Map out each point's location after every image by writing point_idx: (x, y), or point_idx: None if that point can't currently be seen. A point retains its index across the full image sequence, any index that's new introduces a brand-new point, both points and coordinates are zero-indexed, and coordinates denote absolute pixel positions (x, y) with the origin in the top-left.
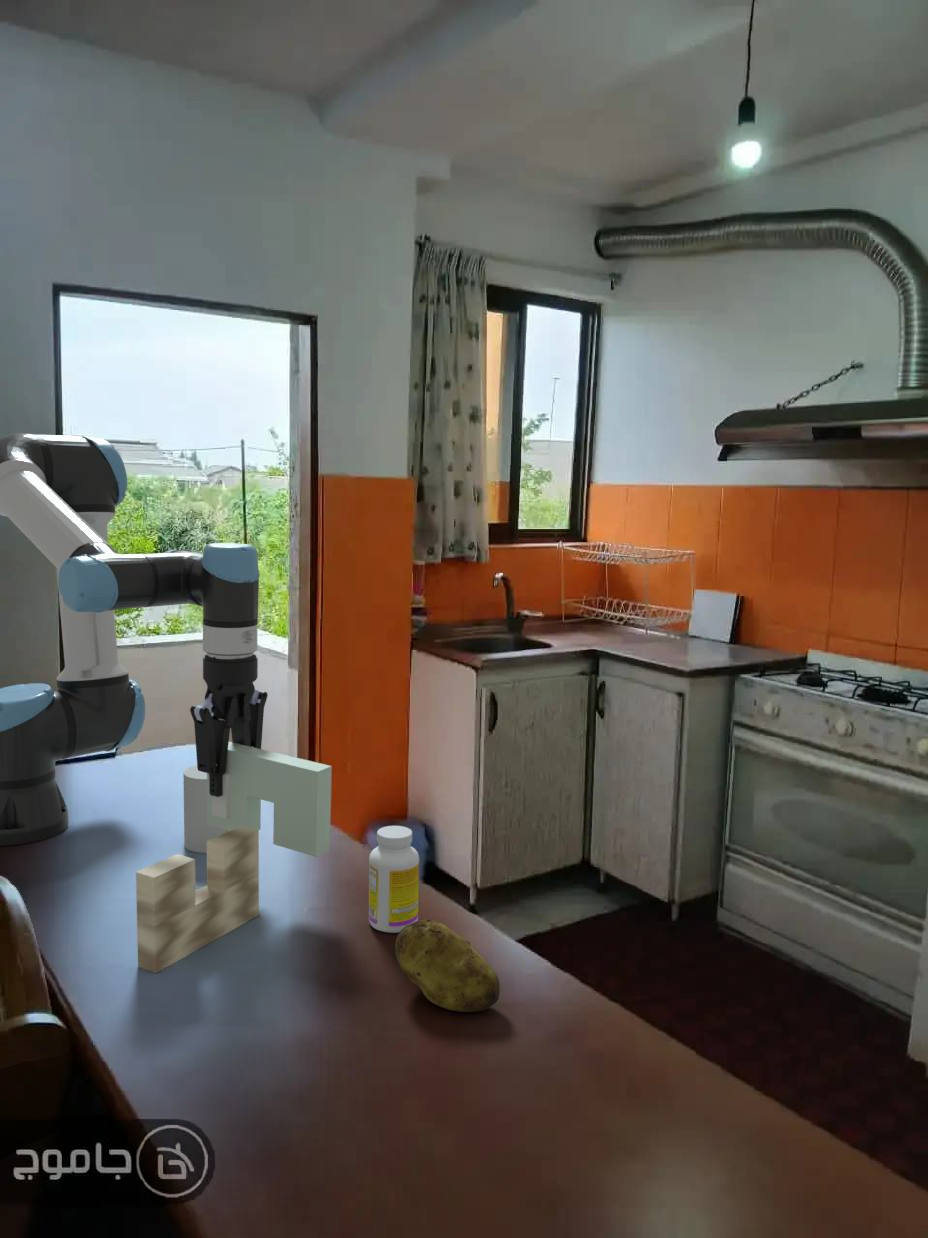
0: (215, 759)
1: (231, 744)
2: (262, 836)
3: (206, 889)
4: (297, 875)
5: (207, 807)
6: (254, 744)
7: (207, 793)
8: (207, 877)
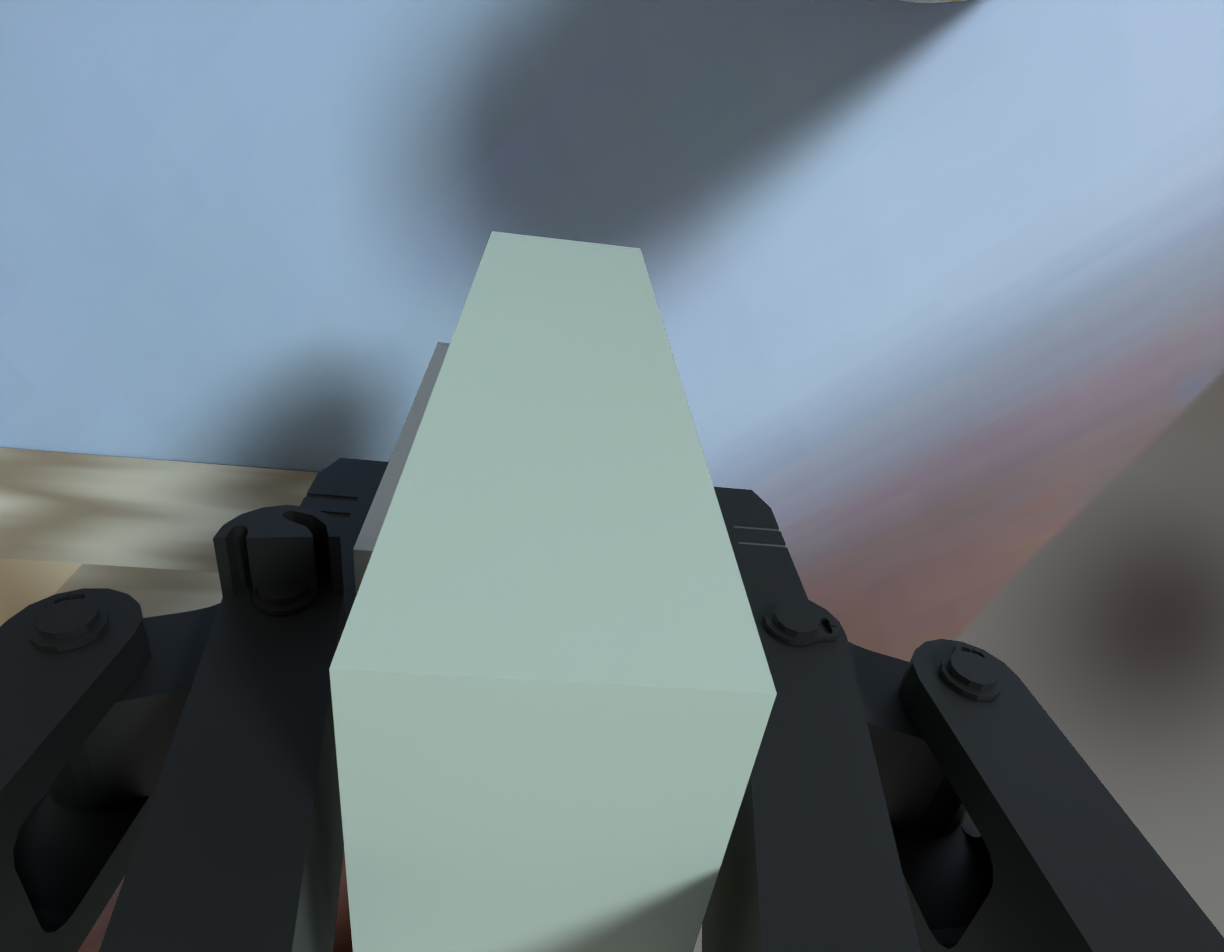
0: (89, 920)
1: (615, 905)
2: (1119, 72)
3: (50, 587)
4: (725, 481)
5: (479, 271)
6: (919, 931)
7: (466, 310)
8: (60, 591)
